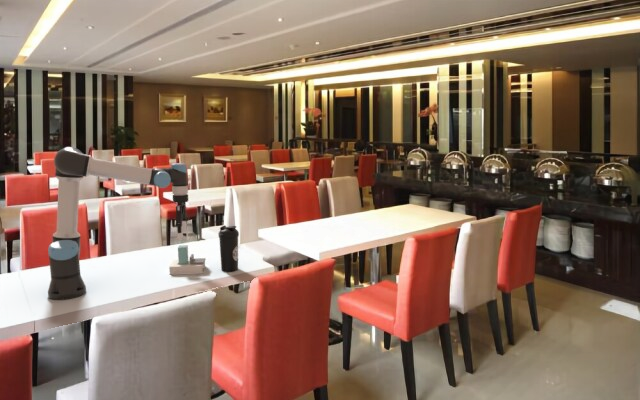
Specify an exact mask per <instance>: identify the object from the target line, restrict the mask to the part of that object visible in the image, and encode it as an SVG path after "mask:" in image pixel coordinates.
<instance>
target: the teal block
mask: <svg viewBox="0 0 640 400" xmlns="http://www.w3.org/2000/svg"><path fill="white" fill-rule="evenodd" d="M188 247H189V245H187V244H186V245H184V244H183V245H182V244H181V245H180V244H179V245H178V247H177V252H178V253H177V257H178V258H177V260H179V265H186V264H188V259H189V248H188Z"/></svg>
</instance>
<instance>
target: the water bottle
mask: <svg viewBox="0 0 640 400" xmlns="http://www.w3.org/2000/svg"><path fill="white" fill-rule="evenodd" d="M236 228H237V225H231V226H227V225H222V226H221V227H219V231H218V238H219V251H220V265H221V267H220V268H221V269H220V270H221V271H222V272H223V273H233V272H236V271H238V270H239V235H240V234H239V233H240V232H239V231H238V229H236Z"/></svg>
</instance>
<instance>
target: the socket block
mask: <svg viewBox="0 0 640 400" xmlns="http://www.w3.org/2000/svg"><path fill="white" fill-rule="evenodd" d="M205 268H206V261H205V262H204V264H190V258H188V264H186V265H179V260H178V259H173V260H172V262H171V263H170V265H169V268H168V269H169V275H195V274H203V272H204V271H205Z"/></svg>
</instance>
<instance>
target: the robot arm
mask: <svg viewBox="0 0 640 400" xmlns="http://www.w3.org/2000/svg"><path fill="white" fill-rule="evenodd" d="M53 164H54V167H55V169H54V178H56V179H57V180H58V186H57V187H58V188H57V189H58V190H57V210H56V211H57V213H56V231H55V232H54V233H53V234H52V239H51V241H52V243H50V244H49V246H48V249H47V250H48V252H47V254H48V258H49V270H50V271H49V272H50V282H49V287H48V290H47V297H48V298H49V299H51V300H70V299H73V298H79V297H80V296H82V295H84V294H86V292H87V286H86V284H85V282H84V280H83V277H82V276H81V267H80V266H81V264H80V253H81V249H82V247H81V237H82V236H81V234H80V232H78V221H79V204H80V203H79V201H80V181H81V180H83V179H84V177H85V178H87V177H89V176H95V177H101V178H105V179H110V180H111V179H113V180H116V181H117V180H119V181H124V182H129V183H137V184H143V185H149V186H153V187H157V188H159V189H165V188H167V187H169V186H170V184H172V185H171V190H172V193H171V194H173V195H172V202H173V203H174V204H177V205H176V206H175V224H174V227H176V238H177V240H184V234H188V226H187V225H188V221H189V218H188V215H187V207H186V206H187V205H186V203H188V202H189V194H188V193H189V189H190V188H189V187H188V171H187V170H188V168H187V164H186V163H184V162H183V163H182V162H176V163H174V162H173V163H171V165H170V167H163V168H162V167H160V168H155V167H154V168H153V167H152V168H148V167H142V166H138V165H131V164H127V163H121V162H120V163H119V162H116V161H112V160H111V161H110V160H105V159H99V158H94V157H92V155H90V154H86V153H85V154H84V153H83V152H82V151H81V150H80V149H79V148H76V147H72V146H65V147H63V148H61V149H60V150H58V151H57V153H56V154H55V156H54V158H53Z"/></svg>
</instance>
